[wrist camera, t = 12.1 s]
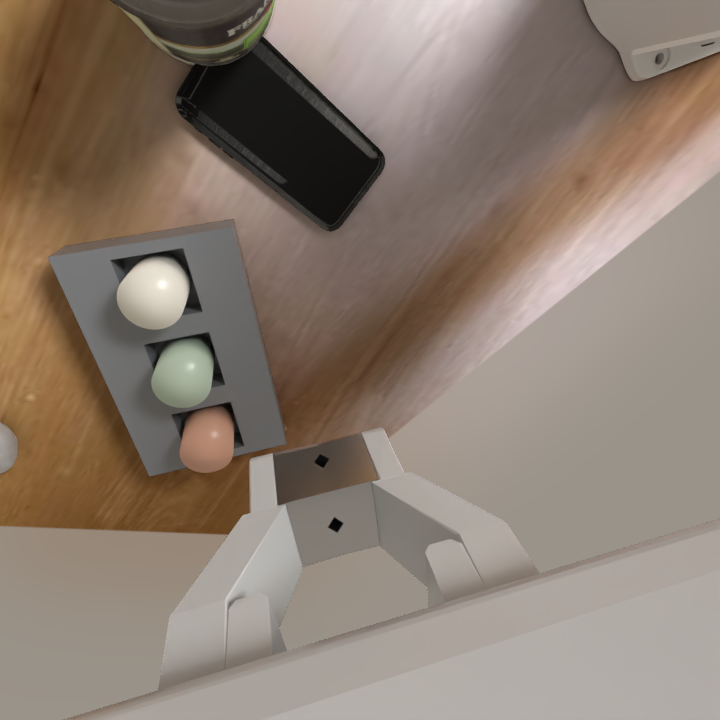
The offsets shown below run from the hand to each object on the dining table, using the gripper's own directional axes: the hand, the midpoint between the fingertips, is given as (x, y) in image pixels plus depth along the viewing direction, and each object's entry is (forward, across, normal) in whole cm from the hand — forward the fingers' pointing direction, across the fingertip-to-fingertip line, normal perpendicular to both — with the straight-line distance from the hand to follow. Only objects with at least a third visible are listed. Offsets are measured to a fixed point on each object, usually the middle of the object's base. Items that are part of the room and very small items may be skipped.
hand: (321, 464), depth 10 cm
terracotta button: (+29, +9, +17) cm, 35 cm away
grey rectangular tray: (+31, +9, +10) cm, 34 cm away
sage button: (+29, +9, +10) cm, 32 cm away
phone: (+32, -3, -6) cm, 32 cm away
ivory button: (+29, +9, +3) cm, 31 cm away
